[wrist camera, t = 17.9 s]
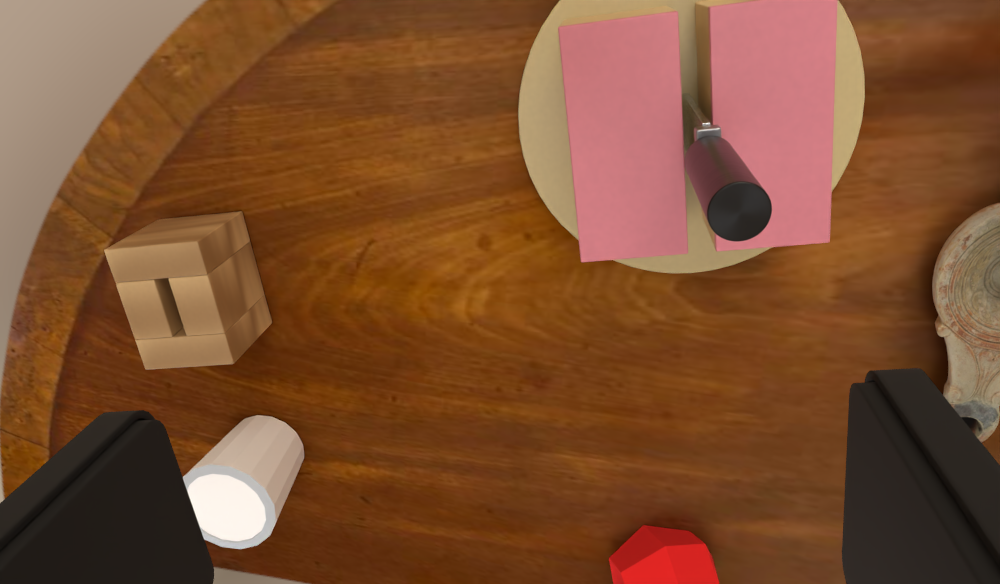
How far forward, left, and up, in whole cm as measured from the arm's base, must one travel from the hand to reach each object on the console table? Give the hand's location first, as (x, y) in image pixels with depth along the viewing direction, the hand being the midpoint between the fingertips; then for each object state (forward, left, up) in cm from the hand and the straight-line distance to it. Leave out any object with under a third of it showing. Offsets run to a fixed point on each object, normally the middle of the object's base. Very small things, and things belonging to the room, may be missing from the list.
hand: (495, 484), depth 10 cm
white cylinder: (+23, -25, -36) cm, 50 cm away
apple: (+33, +3, -36) cm, 49 cm away
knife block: (+9, -25, -36) cm, 45 cm away
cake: (+2, +6, -36) cm, 37 cm away
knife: (+2, +6, -36) cm, 36 cm away
